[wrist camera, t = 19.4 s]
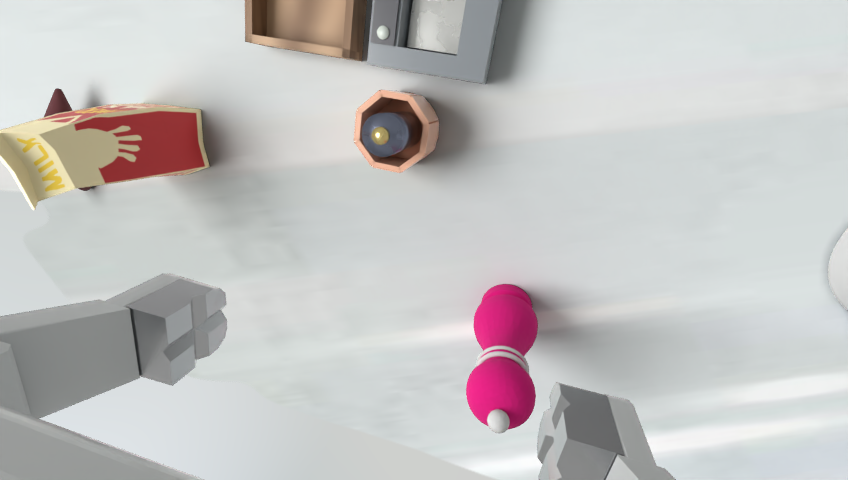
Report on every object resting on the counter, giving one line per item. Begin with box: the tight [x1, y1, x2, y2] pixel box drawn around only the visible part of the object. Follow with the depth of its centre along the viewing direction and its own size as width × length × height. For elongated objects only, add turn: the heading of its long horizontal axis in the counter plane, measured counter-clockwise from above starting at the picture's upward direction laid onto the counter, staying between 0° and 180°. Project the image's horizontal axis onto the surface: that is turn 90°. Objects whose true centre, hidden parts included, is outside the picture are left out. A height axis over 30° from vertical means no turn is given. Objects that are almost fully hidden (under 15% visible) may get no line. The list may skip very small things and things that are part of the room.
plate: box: [407, 0, 466, 55], centre depth 39 cm, size 5×5×1 cm
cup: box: [354, 90, 439, 173], centre depth 42 cm, size 8×8×6 cm
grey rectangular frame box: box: [367, 0, 503, 84], centre depth 38 cm, size 12×10×4 cm
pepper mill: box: [466, 284, 538, 433], centre depth 40 cm, size 7×7×20 cm
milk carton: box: [0, 103, 210, 210], centre depth 43 cm, size 9×9×20 cm
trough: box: [245, 0, 367, 61], centre depth 41 cm, size 12×8×3 cm, turn 81°
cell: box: [362, 111, 422, 157], centre depth 40 cm, size 4×4×9 cm
